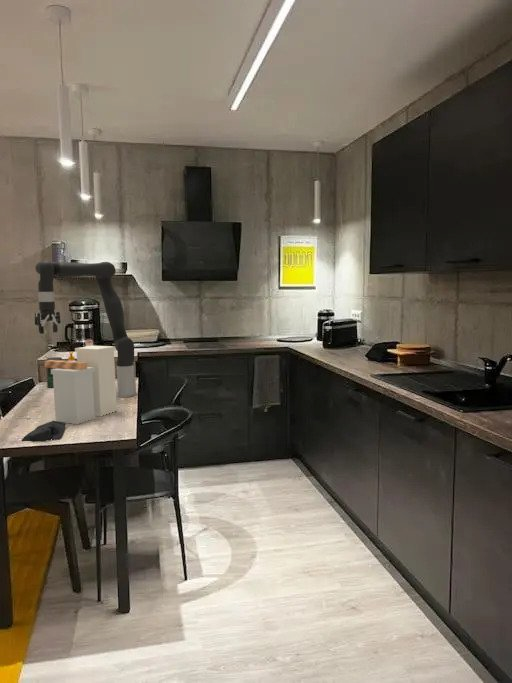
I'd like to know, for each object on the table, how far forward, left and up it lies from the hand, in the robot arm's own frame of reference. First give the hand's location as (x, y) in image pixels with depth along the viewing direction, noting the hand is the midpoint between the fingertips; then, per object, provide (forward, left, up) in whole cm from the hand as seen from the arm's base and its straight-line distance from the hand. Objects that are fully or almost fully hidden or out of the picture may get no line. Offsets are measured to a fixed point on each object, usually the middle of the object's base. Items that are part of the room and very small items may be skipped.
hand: (48, 333), depth 257 cm
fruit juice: (-35, -50, -38) cm, 72 cm away
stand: (-15, +28, -38) cm, 50 cm away
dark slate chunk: (+14, +51, -39) cm, 66 cm away
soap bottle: (-21, -40, -38) cm, 59 cm away
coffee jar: (-15, -57, -38) cm, 70 cm away
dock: (-2, +36, -38) cm, 52 cm away
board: (+1, +32, -14) cm, 35 cm away
